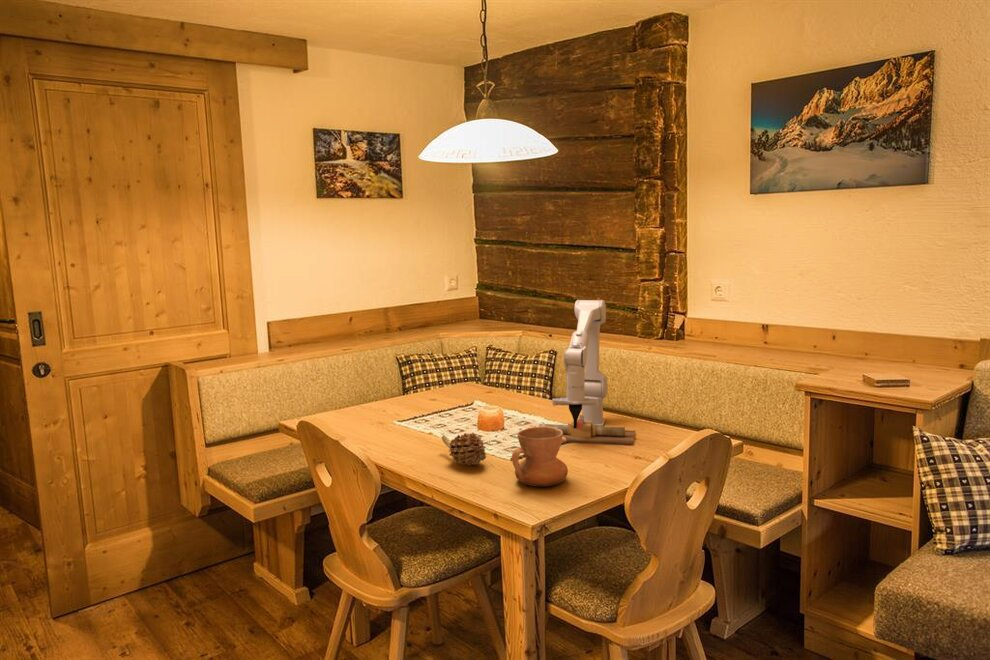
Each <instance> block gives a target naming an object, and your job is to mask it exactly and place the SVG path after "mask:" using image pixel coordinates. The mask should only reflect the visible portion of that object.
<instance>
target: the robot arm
mask: <svg viewBox="0 0 990 660" xmlns="http://www.w3.org/2000/svg"><path fill="white" fill-rule="evenodd" d="M574 303H575V304H574V315H575V318H576V319H577V325H576V330H575V331H574V332H572V334H571V336H570V337H571V339H570V342H569V345H568V348H567V349H565V350H564V352H563V353H564V354H563V363H564V372H566V375H565V377H566V389H565V390H566V391H565V392H566V397H560V398H559V397H556V398H552V406H553V407H556V406H568V410H569V412H570V414H571V417H572V419H573V420H574V428H577V420H579V417H580V414H581V415H584V421H592V424H594V425H596V426H604V424H605V420H606V418H605V417H604V399H606V397H608V396H607V395H608V389H609V388H608V387H609V386H608V377H607V375H606V374H604V373H603V372H602V371H601V370H600V329H601V325H603V324H604V323H606V320H607V306H606V301H605V300H604V299H600V300H597V299H596V300H594V299H593V300H591V299H588V300H587V299H577V300H576V301H575V302H574ZM573 420H572V421H573Z"/></svg>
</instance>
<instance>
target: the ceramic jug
mask: <svg viewBox="0 0 990 660" xmlns="http://www.w3.org/2000/svg"><path fill="white" fill-rule="evenodd" d="M516 434H517V439H518V443H519V445H520V447H518V448H515V449H514V450H513V451H512V454H511V461H512V462H511V463H512V465H513V467H514V476H515V477H516V479H517V480H518V481H519V482H521V483H523V484H524V485H529V486H532V487H538V488H539V487H541V488H542V487H551V486H556V485H558V484H560V483H561V482H563V481H564V480H565V479H566V478H567V476H568V473H569V469H568V465H567V464H566V463H565V462H563V461H562V460H561V459H559V458H557V456H558V453H559V451H560V448H561V445H562V443H564V442H566V438H565V437H563V432H562V431H561V430H560V429H559V430H557V428H554V427H547V426H541V427H539V426H533V427H531V426H530V427H527V428H524V429H521V430H519V431H518V432H517V433H516ZM541 437H548V438H545V439H541ZM521 454H523V455H524V457H525V459H523V460H522V461H520V463H519V458H520V455H521Z"/></svg>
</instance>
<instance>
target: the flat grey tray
mask: <svg viewBox="0 0 990 660" xmlns="http://www.w3.org/2000/svg"><path fill="white" fill-rule="evenodd" d="M578 420H579V419H578ZM578 420H577V421H578ZM541 426H547V427H554V428H557V430H559V429H560V430H561V431H562V432H563V437H565V438H566V442H568V443H569V444H590V445H613V446H631V445H633V444H634V443H635V437H634V436H636V430H627V429H626V427H625V426H604V425H603V426H596V425H594V424H592V421H584V422H583V429H577V428H574V420H572V422H571V423H568V424H556V423H554V424H552V423H551V424H549V423H548V424H547V423H539V425H538V427H541ZM545 438H548V437H541V439H545ZM633 446H634V445H633Z"/></svg>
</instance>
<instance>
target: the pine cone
mask: <svg viewBox="0 0 990 660" xmlns="http://www.w3.org/2000/svg"><path fill="white" fill-rule="evenodd" d="M441 439H442V440H441V441H442V442H443V443H444V444H445V445H446V447H448V448H449V449H448V452H449V454H448V456H451V457H452V461H453V462H456V463H459V464H460V465H467V466H473V465H479V464H480V463H481V461H482V462H484V460H485V459H486V458H487V453H485V451H486V448H487V446H485V445H486V442H484V440H483V439H482V436H479V437H478V435H477V434H476V433H474V432H471V433H467V432H465V433H463V434H461V435H459V434H458V435H457V436H456V437H454V438H453V439H451V441H450V442H449V439H448V437H447V436H446V435H445V434H443V435H442V436H441Z"/></svg>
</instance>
